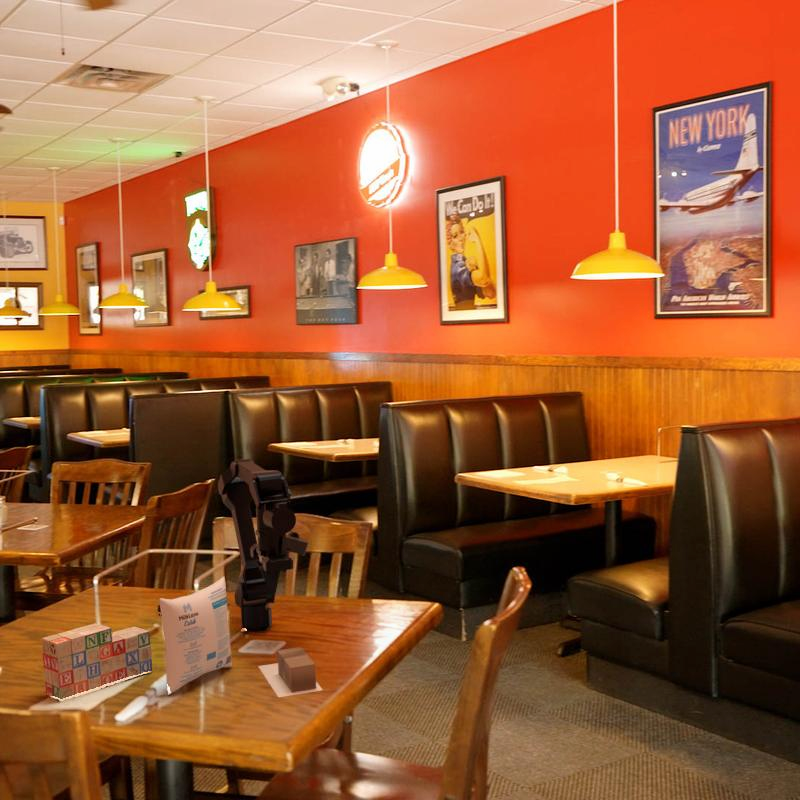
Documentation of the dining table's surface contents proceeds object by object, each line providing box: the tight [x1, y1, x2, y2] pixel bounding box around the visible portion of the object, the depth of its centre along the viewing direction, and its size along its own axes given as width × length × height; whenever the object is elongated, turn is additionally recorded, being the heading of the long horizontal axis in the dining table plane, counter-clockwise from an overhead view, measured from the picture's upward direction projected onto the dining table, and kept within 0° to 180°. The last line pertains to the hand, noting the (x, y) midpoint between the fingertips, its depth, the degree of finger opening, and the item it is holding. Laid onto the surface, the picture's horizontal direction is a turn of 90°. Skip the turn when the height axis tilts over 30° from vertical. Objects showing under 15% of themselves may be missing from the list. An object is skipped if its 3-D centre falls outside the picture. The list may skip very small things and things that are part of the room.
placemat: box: [257, 662, 323, 698], centre depth 207 cm, size 20×9×1 cm, turn 20°
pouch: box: [159, 576, 233, 693], centre depth 208 cm, size 8×19×20 cm, turn 144°
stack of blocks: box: [41, 622, 153, 699], centre depth 209 cm, size 21×6×12 cm, turn 136°
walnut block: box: [276, 646, 317, 692], centre depth 205 cm, size 5×5×12 cm
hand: (273, 593), depth 230 cm, fingers closed
